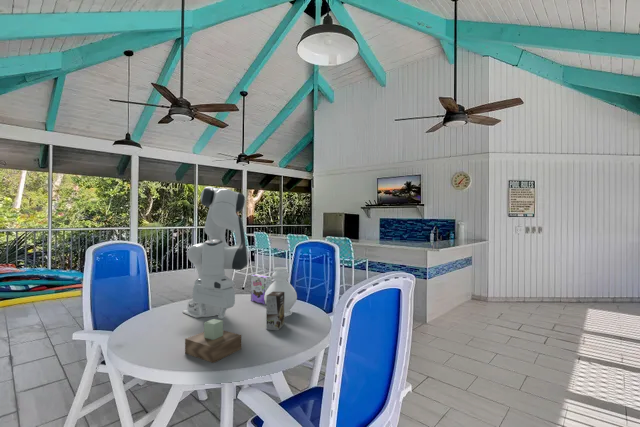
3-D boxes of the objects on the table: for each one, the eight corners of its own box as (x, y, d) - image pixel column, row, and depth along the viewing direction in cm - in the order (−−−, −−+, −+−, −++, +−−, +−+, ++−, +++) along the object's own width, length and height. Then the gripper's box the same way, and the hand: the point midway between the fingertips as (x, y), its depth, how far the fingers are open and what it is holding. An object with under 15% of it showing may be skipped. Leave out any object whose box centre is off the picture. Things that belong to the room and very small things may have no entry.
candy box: (250, 300, 198) (250, 274, 198) (257, 299, 203) (257, 273, 203) (264, 304, 189) (264, 277, 190) (272, 302, 194) (272, 276, 194)
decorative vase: (303, 313, 172) (303, 268, 172) (277, 321, 159) (277, 272, 160) (283, 307, 184) (283, 264, 185) (257, 313, 172) (257, 268, 172)
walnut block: (185, 354, 122) (185, 338, 122) (213, 341, 134) (213, 327, 134) (213, 364, 114) (213, 347, 114) (241, 350, 126) (241, 335, 126)
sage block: (204, 337, 123) (204, 322, 123) (213, 333, 127) (213, 318, 127) (213, 340, 121) (213, 324, 121) (222, 335, 125) (223, 320, 125)
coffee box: (278, 330, 146) (278, 295, 146) (265, 329, 147) (265, 295, 148) (285, 324, 155) (285, 291, 155) (272, 323, 156) (272, 290, 157)
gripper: (188, 279, 126) (188, 313, 126) (225, 285, 116) (225, 322, 116) (201, 276, 132) (200, 309, 132) (237, 282, 122) (237, 318, 122)
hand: (212, 315), depth 124 cm, fingers open, 8 cm apart
